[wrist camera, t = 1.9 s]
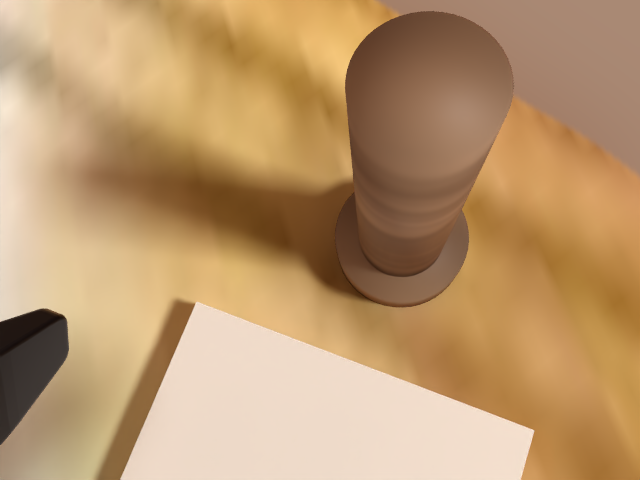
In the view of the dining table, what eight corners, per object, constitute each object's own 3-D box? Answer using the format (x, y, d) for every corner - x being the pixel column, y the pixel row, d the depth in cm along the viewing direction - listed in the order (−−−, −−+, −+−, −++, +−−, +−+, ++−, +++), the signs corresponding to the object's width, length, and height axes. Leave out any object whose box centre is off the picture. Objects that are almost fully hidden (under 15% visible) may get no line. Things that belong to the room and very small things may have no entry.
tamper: (440, 325, 22) (520, 243, 10) (319, 282, 23) (260, 158, 11) (478, 209, 23) (592, 8, 11) (361, 171, 24) (350, -52, 12)
